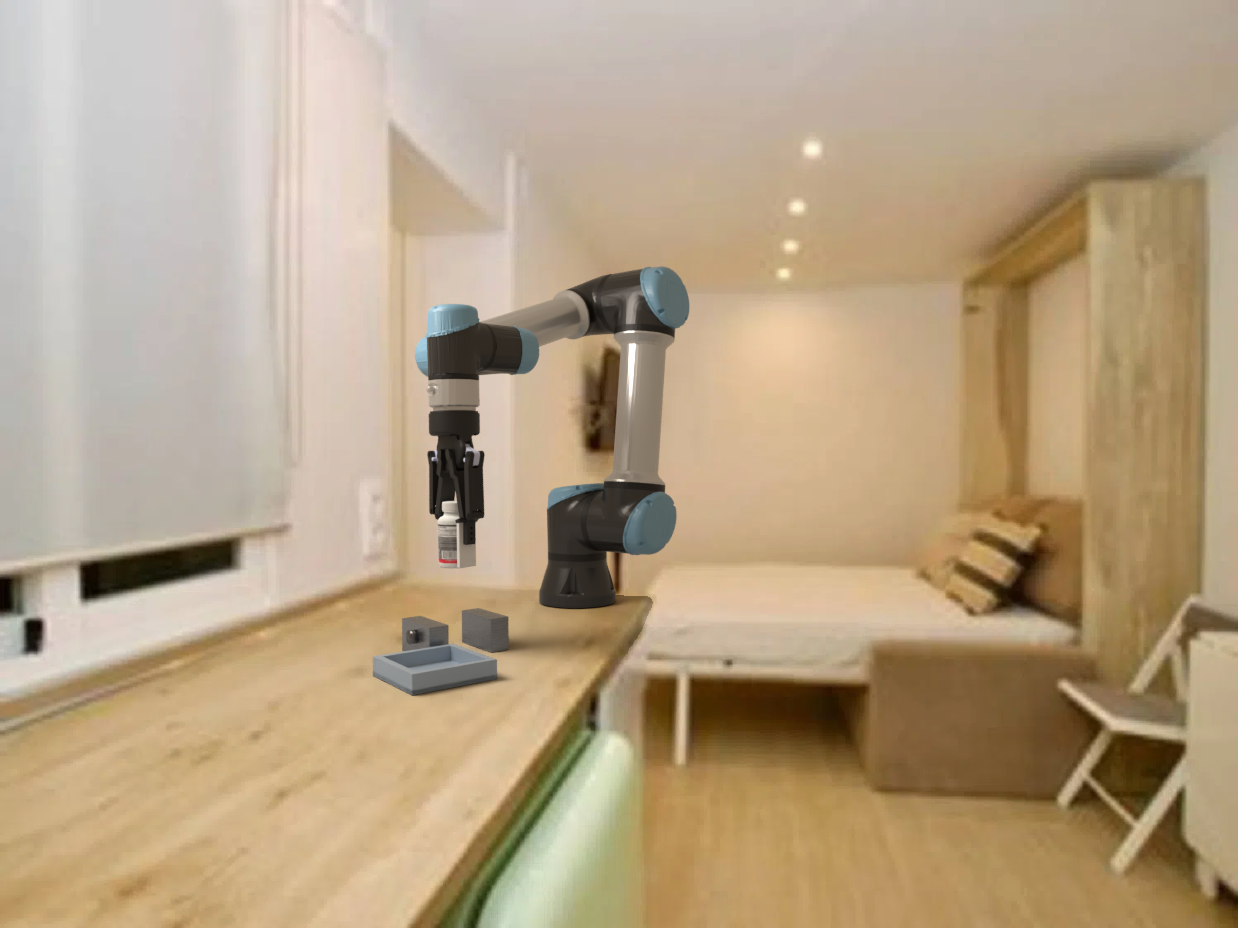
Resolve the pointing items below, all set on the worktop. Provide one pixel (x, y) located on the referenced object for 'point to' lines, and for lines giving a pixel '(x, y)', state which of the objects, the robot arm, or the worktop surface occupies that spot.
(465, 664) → the tray
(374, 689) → the worktop surface
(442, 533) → the pill bottle
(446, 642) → the grey twin blocks
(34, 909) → the worktop surface
